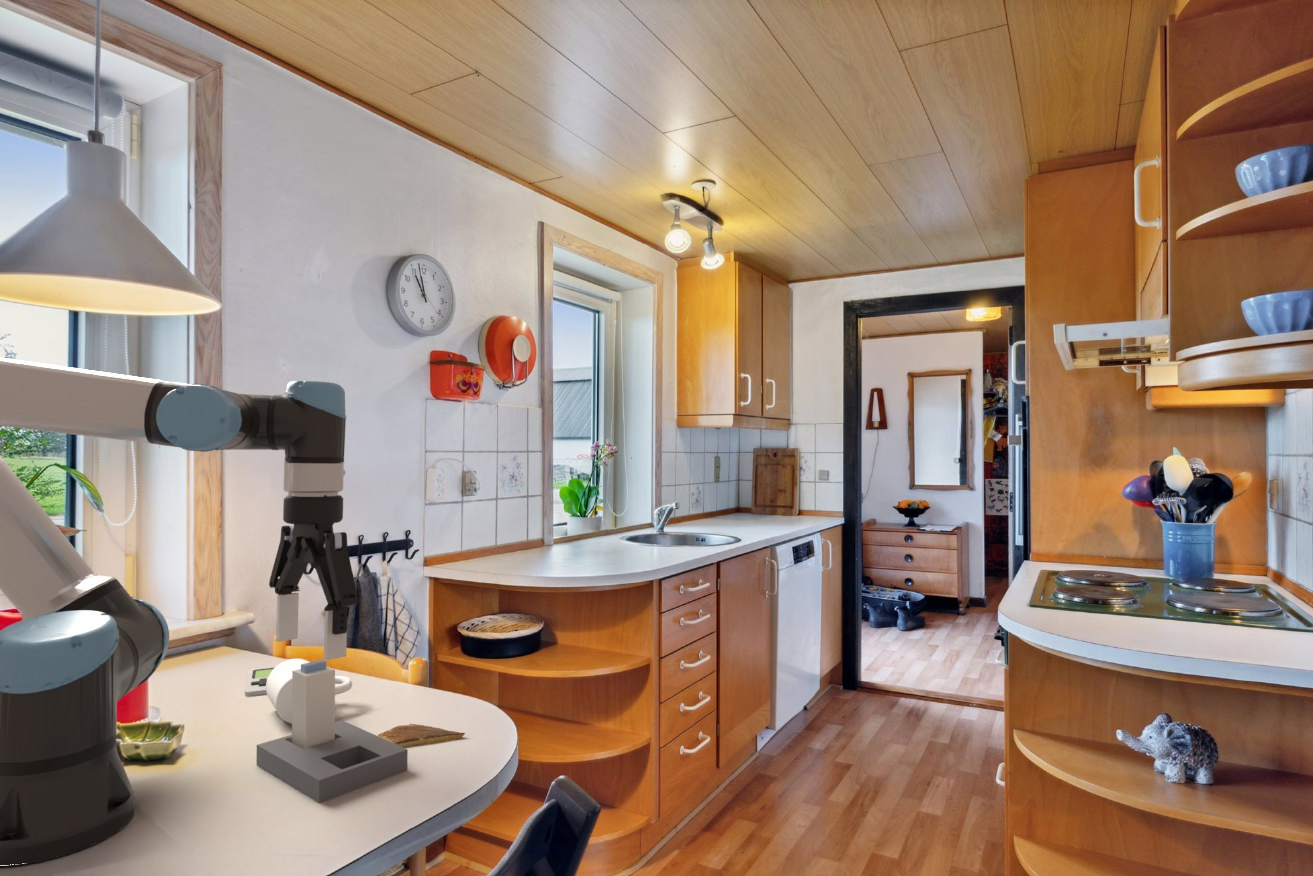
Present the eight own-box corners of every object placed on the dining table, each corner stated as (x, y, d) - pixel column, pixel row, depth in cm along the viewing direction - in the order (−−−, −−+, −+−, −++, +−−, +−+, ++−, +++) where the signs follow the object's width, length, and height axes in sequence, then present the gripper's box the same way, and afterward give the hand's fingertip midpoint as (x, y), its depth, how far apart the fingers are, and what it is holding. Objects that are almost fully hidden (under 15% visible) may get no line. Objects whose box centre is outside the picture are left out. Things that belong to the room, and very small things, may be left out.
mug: (276, 730, 116) (276, 677, 116) (265, 711, 124) (265, 662, 124) (358, 714, 123) (358, 664, 123) (343, 697, 131) (343, 651, 131)
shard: (465, 743, 112) (465, 730, 112) (429, 762, 106) (429, 749, 106) (407, 732, 117) (407, 720, 117) (370, 750, 110) (370, 737, 110)
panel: (319, 805, 92) (319, 780, 92) (256, 767, 103) (256, 745, 103) (407, 772, 101) (407, 749, 101) (341, 740, 112) (341, 720, 112)
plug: (306, 766, 102) (306, 669, 102) (291, 758, 105) (292, 663, 105) (334, 756, 105) (335, 662, 106) (320, 749, 108) (320, 657, 108)
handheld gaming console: (244, 690, 131) (248, 667, 145) (244, 699, 131) (248, 676, 145) (308, 682, 136) (306, 661, 149) (308, 691, 136) (306, 669, 149)
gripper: (388, 498, 100) (384, 660, 100) (298, 488, 116) (294, 628, 116) (333, 500, 95) (329, 672, 94) (246, 490, 110) (242, 637, 110)
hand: (309, 648), depth 105 cm, fingers open, 13 cm apart
